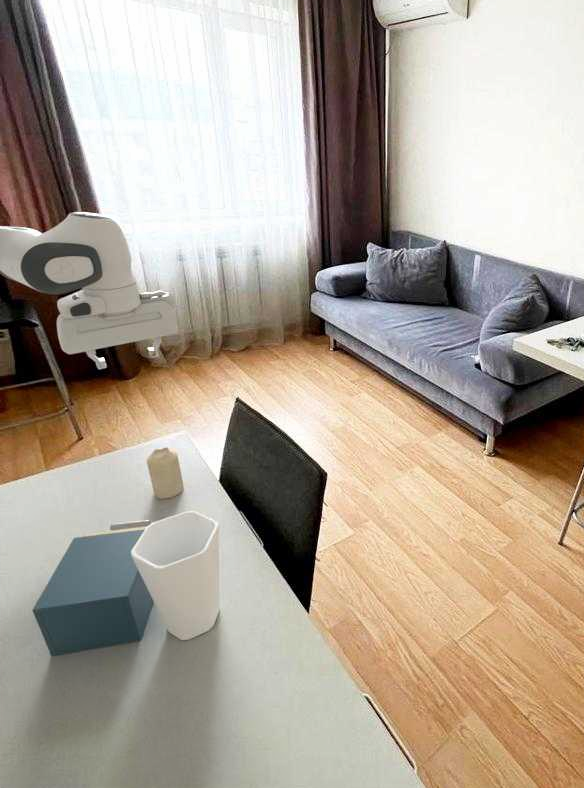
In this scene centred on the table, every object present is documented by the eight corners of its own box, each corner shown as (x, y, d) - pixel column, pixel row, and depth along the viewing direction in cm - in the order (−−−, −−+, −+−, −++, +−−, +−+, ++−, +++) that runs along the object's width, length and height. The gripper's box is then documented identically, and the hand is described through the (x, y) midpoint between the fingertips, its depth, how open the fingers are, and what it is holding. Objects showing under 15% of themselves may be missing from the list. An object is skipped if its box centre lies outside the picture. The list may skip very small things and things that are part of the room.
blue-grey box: (88, 580, 83) (73, 537, 79) (164, 569, 86) (154, 527, 82) (51, 656, 71) (32, 610, 67) (141, 641, 74) (127, 595, 70)
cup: (140, 630, 76) (115, 546, 69) (196, 582, 84) (179, 503, 77) (192, 662, 72) (171, 577, 65) (245, 608, 80) (232, 528, 73)
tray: (105, 547, 88) (94, 514, 85) (169, 539, 91) (161, 506, 88) (62, 633, 73) (48, 597, 70) (140, 621, 76) (130, 585, 73)
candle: (148, 496, 102) (138, 456, 98) (167, 480, 107) (159, 441, 103) (170, 501, 101) (162, 461, 97) (189, 485, 106) (182, 446, 102)
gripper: (166, 285, 105) (178, 345, 110) (46, 302, 92) (66, 369, 97) (176, 293, 100) (187, 354, 106) (51, 312, 87) (72, 380, 93)
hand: (129, 361), depth 102 cm, fingers open, 8 cm apart
